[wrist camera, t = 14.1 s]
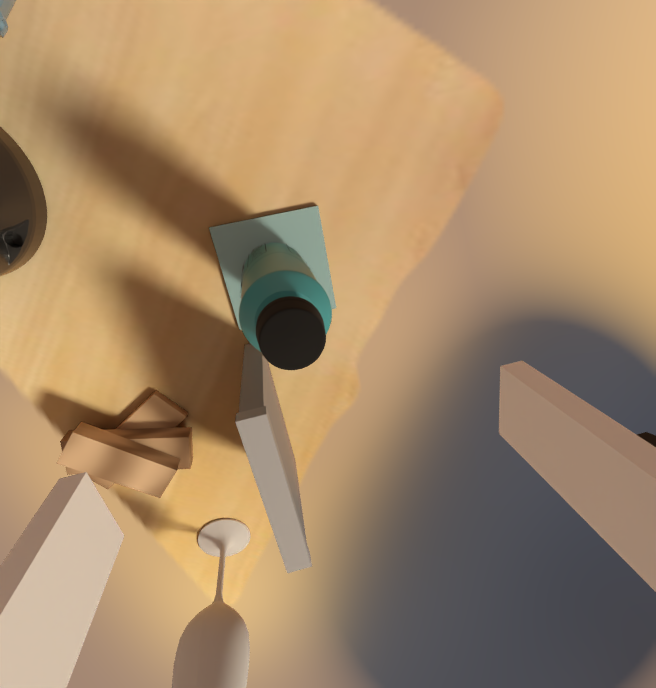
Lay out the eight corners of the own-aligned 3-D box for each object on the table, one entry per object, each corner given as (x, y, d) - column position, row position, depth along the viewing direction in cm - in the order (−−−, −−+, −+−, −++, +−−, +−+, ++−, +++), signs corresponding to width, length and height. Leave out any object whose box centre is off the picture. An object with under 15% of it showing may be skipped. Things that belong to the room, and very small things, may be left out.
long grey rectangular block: (243, 345, 42) (235, 421, 28) (263, 340, 42) (266, 414, 28) (279, 465, 49) (287, 573, 35) (296, 460, 49) (311, 566, 35)
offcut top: (180, 458, 42) (176, 470, 41) (164, 485, 43) (159, 498, 42) (81, 421, 39) (72, 432, 37) (65, 451, 40) (56, 463, 38)
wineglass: (206, 562, 53) (178, 768, 34) (188, 526, 50) (146, 731, 31) (257, 547, 54) (257, 742, 35) (243, 511, 51) (234, 702, 32)
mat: (209, 227, 36) (208, 227, 36) (317, 205, 37) (318, 205, 37) (239, 328, 41) (239, 330, 40) (335, 306, 42) (336, 308, 41)
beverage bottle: (234, 248, 37) (211, 305, 19) (297, 230, 37) (334, 269, 19) (254, 307, 40) (252, 407, 22) (313, 290, 40) (359, 374, 22)
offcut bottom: (158, 385, 43) (154, 394, 41) (189, 407, 45) (186, 416, 43) (81, 459, 45) (73, 470, 43) (113, 477, 47) (107, 489, 45)
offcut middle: (191, 427, 44) (188, 437, 42) (193, 457, 45) (190, 468, 43) (69, 430, 41) (60, 441, 39) (75, 462, 43) (67, 474, 41)
